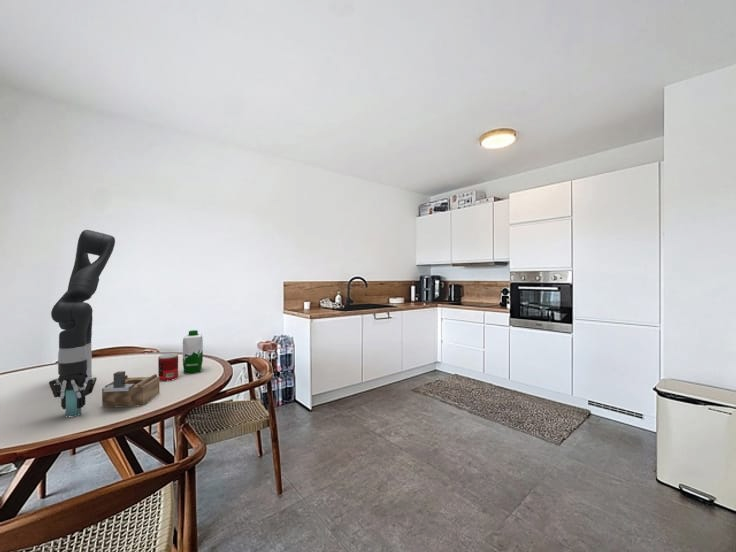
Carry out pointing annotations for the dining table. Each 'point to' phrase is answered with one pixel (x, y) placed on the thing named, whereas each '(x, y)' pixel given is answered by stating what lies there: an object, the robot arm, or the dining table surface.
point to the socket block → (132, 392)
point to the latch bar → (119, 383)
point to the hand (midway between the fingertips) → (73, 407)
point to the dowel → (71, 403)
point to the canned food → (168, 366)
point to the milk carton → (192, 352)
